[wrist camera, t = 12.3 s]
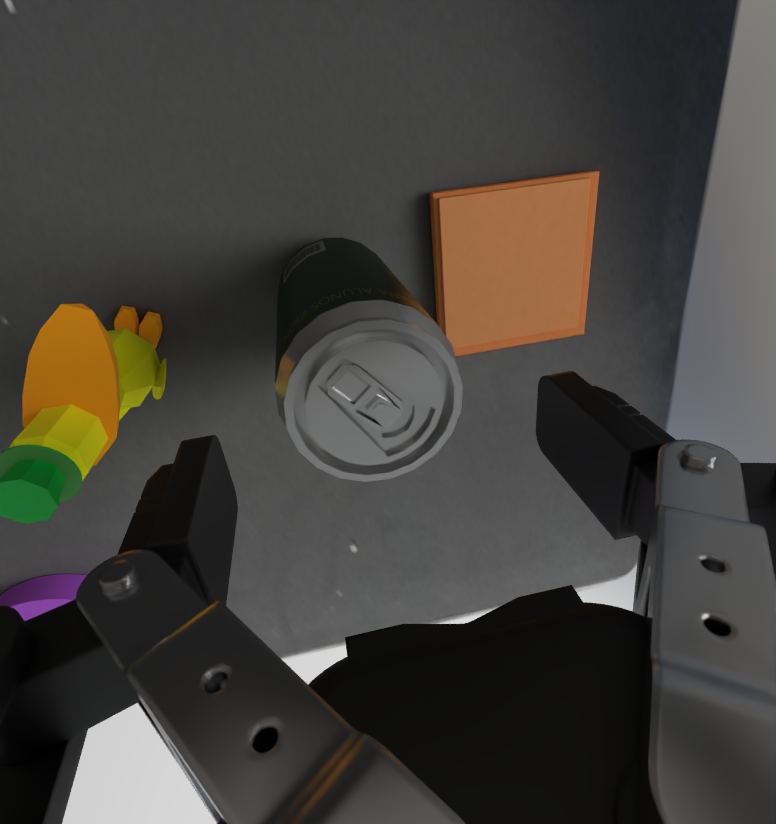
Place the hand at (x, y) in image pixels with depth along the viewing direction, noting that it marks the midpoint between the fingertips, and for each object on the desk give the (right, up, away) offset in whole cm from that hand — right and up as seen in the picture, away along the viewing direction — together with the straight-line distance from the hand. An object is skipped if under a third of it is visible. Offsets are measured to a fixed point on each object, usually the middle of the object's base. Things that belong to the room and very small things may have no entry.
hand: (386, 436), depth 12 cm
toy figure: (-11, +5, +11) cm, 16 cm away
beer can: (-3, +6, +12) cm, 14 cm away
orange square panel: (+6, +8, +13) cm, 16 cm away
